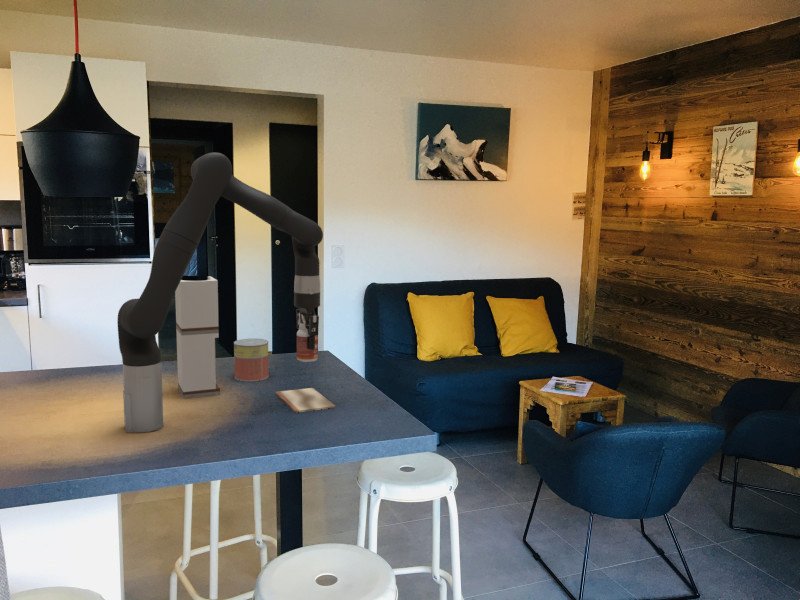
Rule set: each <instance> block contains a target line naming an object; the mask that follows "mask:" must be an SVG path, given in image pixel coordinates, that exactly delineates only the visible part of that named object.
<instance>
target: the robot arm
mask: <svg viewBox="0 0 800 600" xmlns="http://www.w3.org/2000/svg"><path fill="white" fill-rule="evenodd" d="M190 175H191V178H192V183H191V185H190V187H189V190H188V191H187V192H188V193H187V194H186V196H185V197H184V199H183V200H182V202H181V203H180V204H179V206H178V207H177V208H176V210H175V211H174V212H173V214H172V215H171V217H170V218H169V220H168V221H167V223H166V225H165V226H164V228H163V230H162V231H161V234H160V236H159V238H158V241H157V242H156V245H155V248H154V251H153V257H152V261H151V262H152V263H151V267H150V268H151V269H150V274H149V278H148V281H147V283H146V285H145V287H144V288H143V291H142V293H141V294H140V296H139V298H132V299H129V300H127V301H125V302H123V304H122V305H121V306H120V307H119V310H118V313H117V336H118V337H117V338H118V347H119V352H120V354H121V358H122V361H121V363H122V379H123V383H122V384H123V391H122V392H123V394H122V395H123V419H124V421H123V422H124V428H125V429H124V430H125V433H148V432H149V433H150V432H154V431H157V430H160V429H161V428H162V427H164V404H163V403H164V401H163V400H164V399H163V398H164V397H163V396H164V395H163V373H162V372H163V370H162V368H163V367H162V366H163V365H162V351H161V349H160V347H159V345H158V343H157V342H158V341H157V338H156V337H157V336H156V335H157V334H158V333H160V331H161V329H162V328H163V326H164V324H165V322H166V318H167V317H168V316H167V315H168V313H169V310H170V308H171V307H170V306H171V304H172V301H173V299H174V297H175V291H176V289H177V287H178V285H179V283H180V281H181V280H183V279H182V278H183V277H184V276H185V275H184V274H185V273H186V270H187V268H188V266H189V264H190V263H191V261H192V259H193V257H194V255H195V252H196V251H197V248H198V246H199V244H200V242H201V239H202V238H203V237H202V236H203V234H204V233H205V230H206V227H207V225H208V222H209V220H210V218H211V215H212V212H213V210H214V208H215V207H216V204H217V202H218V201H219V199H220V197H222V198H224V199H226V200H228V201H230V202H232V203H233V204H236V205H237V206H239V207H241V208H243V209H244V210H246V211H248V212H249V213H251V214H252V215H254V216H256V217H258V218H259V219H260V220H262V221H263V222H264V223H266V224H268V225H269V226H272V228H275V229H276V230H278V231H279V232H284V233H286V234H288V235H290V236H291V242H292V249H293V255H294V260H295V261H294V282H293V283H294V285H293V288H294V289H293V294H294V296H293V297H294V298H293V305H294V307H295V308H296V310H295V312H296V329H298V331H299V330H300V328H299V323H300V322H302V323H303V324H304V329H305V330H306V333H307V349H308V350H311V349H315V336H317V335H318V336H319V323H320V322H319V320H320V316H319V315H316V312H315V309H316V308H320V306H321V277H320V258H319V257H318V256H317V253H316V246H318V245H319V244H320V243H321V242H322V241H323V239H324V238H323V237H324V233H323V228H322V227H321V226H320V225H319V224H318V223H317V222H315V221H314V220H312V219H311V218H308V217H307V216H304V215H302V214H300V213H298V212H296V211H295V210H293V209H292V208H290V207H289V206H288V205H287V204H285V203H283V202H282V201H280V200H279V199H277V198H275V197H274V196H272V195H270V194H269V193H266V192H264V191H261V190H259V189H256V188H255V187H252V186H250V185H249V184H247V183H245V182H243V181H242V180H240V179H238V178H237V177H236V176H234V175H233V165H232V163H231V160H230V159H229V158H228V157H227V155H225V154H223V153H221V152H208V153H206V154H203V155H201V156H200V157H198V158H196V159H195V160H194V161H193V163H192V165H191V167H190ZM307 325H309V326H307ZM312 330H313V332H312Z"/></svg>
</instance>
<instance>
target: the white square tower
mask: <svg viewBox="0 0 800 600" xmlns="http://www.w3.org/2000/svg"><path fill="white" fill-rule="evenodd" d="M218 284H219V282H218V279H216V278H214V277H213V276H210V275H209V276H207V279H206V280H183V279H181V281H180V283H179V285H178V287H177V289H176V291H175V294H174V297H175V298H174V299H175V324H176V325H175V326H176V327H175V329H176V331H175V332H176V355H177V357H176V358H177V359H176V362H177V364H176V365H177V390H178V391H179V393H180V395H181V397H182V399H184V400H185V398H187V399H195V398H194V397H196V398H205V397H212V396H220V395H221V387H219V385H218V384H217V383H216V382H217V381H216V380H217V379H216V378H217V377H216V375H217V373H216V339H217V338H218V339H219V338H220V336H219V335H220V333H219V332H220V331H219V330H220V329H219V326H220V325H219V292H218V291H219V289H218V287H219V285H218ZM204 396H205V397H204Z"/></svg>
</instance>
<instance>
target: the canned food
mask: <svg viewBox="0 0 800 600" xmlns="http://www.w3.org/2000/svg"><path fill="white" fill-rule="evenodd" d="M233 352H234V353H233V355H234V357H233V359H234V361H233V362H234V377H233V378H234V379H235V380H236V379H237V380H236V381H239V380H240V382H260V381H264V380H267V379H268V378H269V376H270V375H269V341H268V340H267V339H264V338H242V339H237V340H235V341H233ZM259 380H260V381H259Z"/></svg>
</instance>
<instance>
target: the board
mask: <svg viewBox="0 0 800 600" xmlns="http://www.w3.org/2000/svg"><path fill="white" fill-rule="evenodd" d="M274 393H275V395H276V396H277V397H278V398H279V399H280V400H281V401H282V402H283V403H284V404H285V405H286V406H287V407H288V408H289V409H290V410H291V411H293V413H295V414H297V413H298V412H299V413H305V412H306V411H307V412H312V411H313V410H315V411H322V410H329V409H328V408H330V409H336V405H335V404H334V403H332V402H331V401H330V400H329V399H328V398H326V397H325V396H324V395H322V394H321V393H320V392H319V391H317V390H316V389H315V388H314V387H308V388H299V389H289V390H281V391H279V390H277V391H275V392H274ZM321 409H322V410H321ZM313 412H314V411H313Z"/></svg>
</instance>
